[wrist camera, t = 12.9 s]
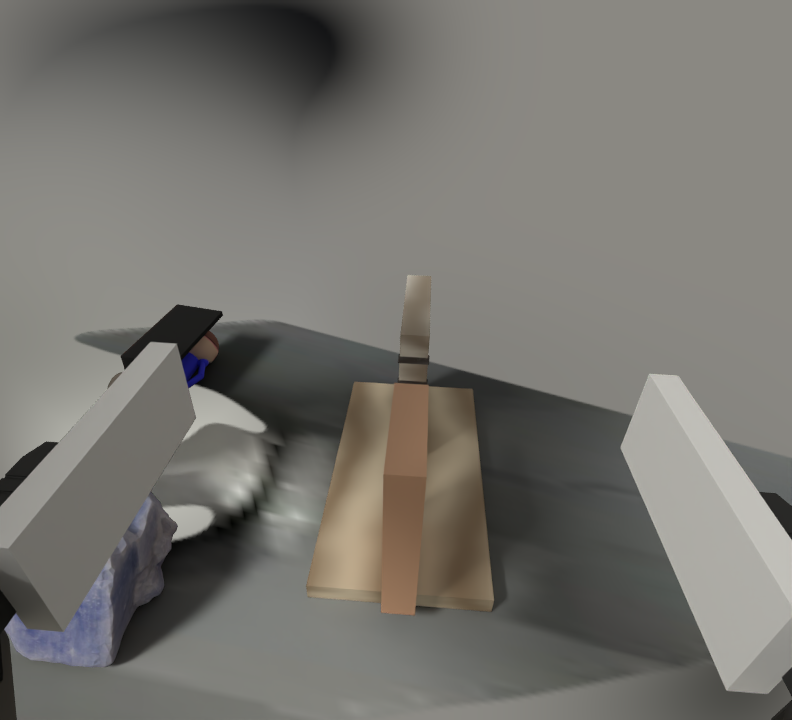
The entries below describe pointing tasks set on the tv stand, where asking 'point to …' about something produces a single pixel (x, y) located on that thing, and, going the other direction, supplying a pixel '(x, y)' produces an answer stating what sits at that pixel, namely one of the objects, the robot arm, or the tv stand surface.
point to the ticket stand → (444, 496)
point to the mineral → (107, 597)
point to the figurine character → (182, 339)
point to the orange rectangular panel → (404, 497)
